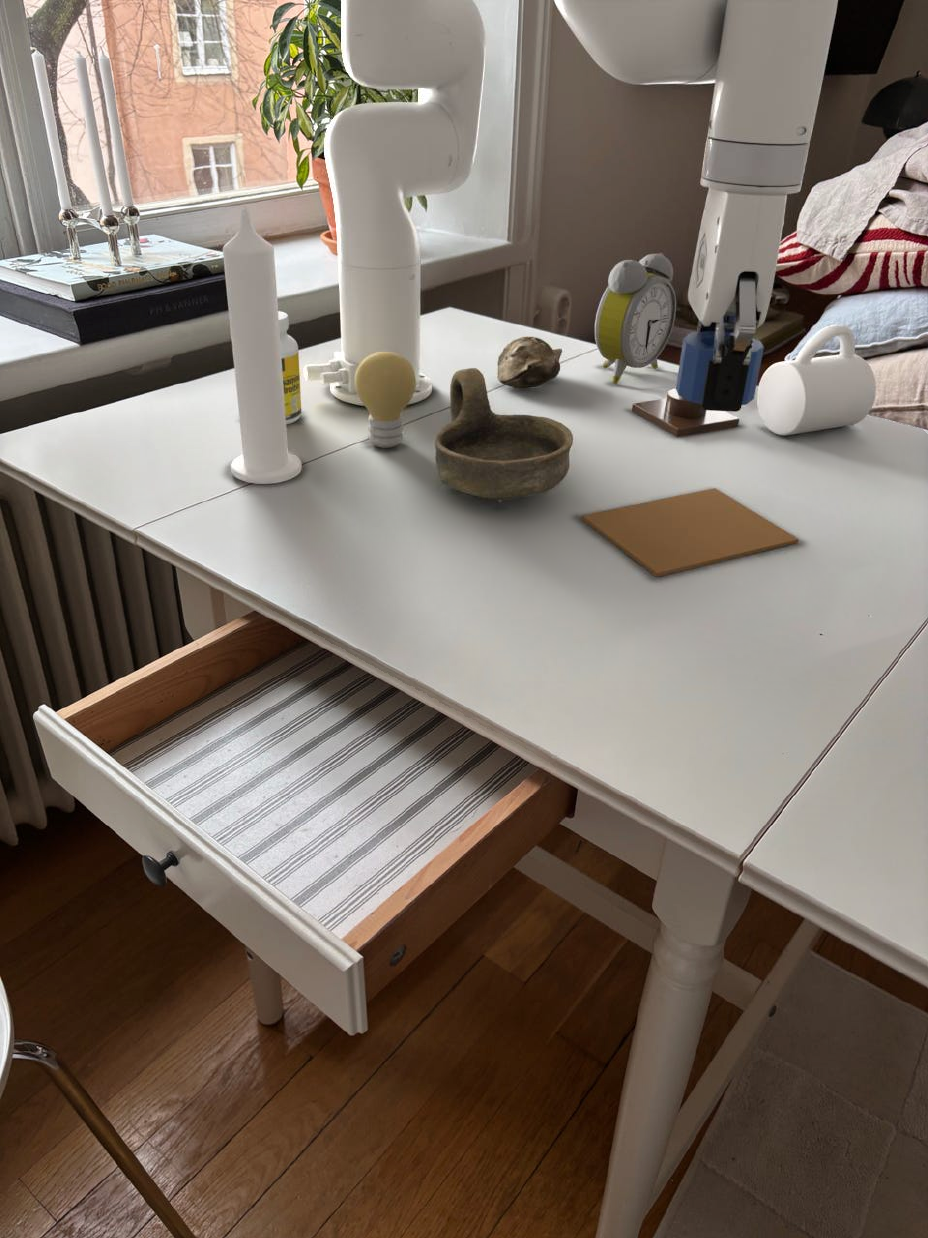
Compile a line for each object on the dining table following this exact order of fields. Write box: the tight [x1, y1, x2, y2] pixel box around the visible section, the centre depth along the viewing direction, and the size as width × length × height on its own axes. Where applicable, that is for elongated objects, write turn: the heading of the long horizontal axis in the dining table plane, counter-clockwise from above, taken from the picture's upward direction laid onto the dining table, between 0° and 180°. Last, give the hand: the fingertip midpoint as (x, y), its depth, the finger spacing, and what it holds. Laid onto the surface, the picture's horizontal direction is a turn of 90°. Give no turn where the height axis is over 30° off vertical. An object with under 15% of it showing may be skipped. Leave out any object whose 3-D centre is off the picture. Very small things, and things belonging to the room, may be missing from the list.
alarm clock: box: [594, 252, 677, 385], centre depth 124 cm, size 12×7×15 cm, turn 137°
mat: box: [581, 487, 800, 578], centre depth 89 cm, size 16×12×1 cm
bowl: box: [434, 367, 574, 503], centre depth 94 cm, size 14×18×10 cm
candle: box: [222, 206, 303, 485], centre depth 91 cm, size 7×7×25 cm
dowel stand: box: [631, 387, 740, 438], centre depth 112 cm, size 9×9×8 cm
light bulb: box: [355, 352, 416, 449], centre depth 102 cm, size 6×6×10 cm
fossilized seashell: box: [496, 336, 563, 390], centre depth 122 cm, size 8×7×10 cm
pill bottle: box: [278, 310, 302, 425], centre depth 107 cm, size 6×6×12 cm
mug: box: [756, 324, 877, 437], centre depth 110 cm, size 8×10×12 cm
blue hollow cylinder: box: [675, 331, 765, 406], centre depth 81 cm, size 6×6×4 cm
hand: (713, 393), depth 82 cm, fingers closed on blue hollow cylinder, 6 cm apart
